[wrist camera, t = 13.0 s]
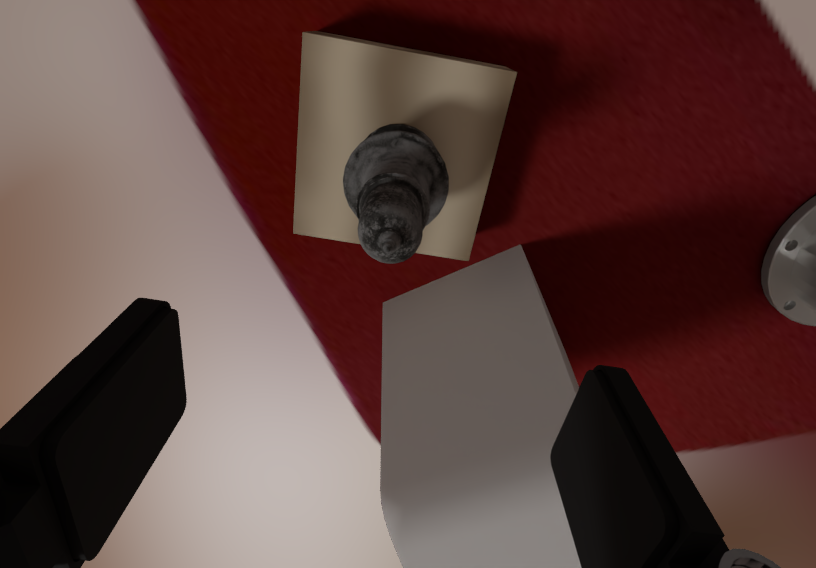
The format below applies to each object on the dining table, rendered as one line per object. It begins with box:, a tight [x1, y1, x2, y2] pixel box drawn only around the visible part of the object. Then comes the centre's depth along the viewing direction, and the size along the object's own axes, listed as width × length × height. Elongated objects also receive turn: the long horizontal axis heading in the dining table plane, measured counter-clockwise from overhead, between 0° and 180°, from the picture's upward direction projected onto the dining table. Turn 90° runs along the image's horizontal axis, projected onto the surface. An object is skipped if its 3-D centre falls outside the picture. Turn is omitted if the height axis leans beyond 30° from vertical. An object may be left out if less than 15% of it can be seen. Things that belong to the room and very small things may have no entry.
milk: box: [380, 244, 582, 568], centre depth 28 cm, size 12×12×26 cm
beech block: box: [293, 31, 517, 261], centre depth 30 cm, size 12×12×4 cm
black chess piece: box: [343, 124, 449, 263], centre depth 23 cm, size 6×6×12 cm
